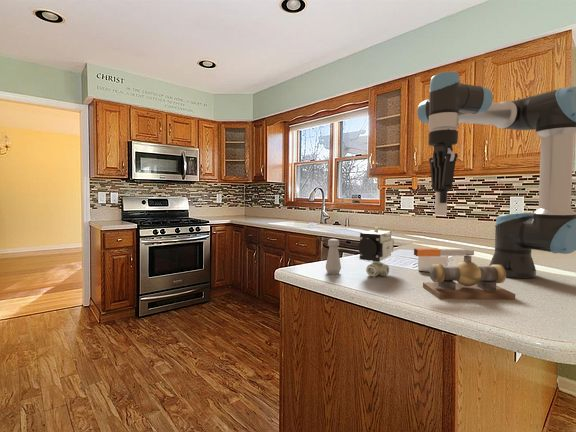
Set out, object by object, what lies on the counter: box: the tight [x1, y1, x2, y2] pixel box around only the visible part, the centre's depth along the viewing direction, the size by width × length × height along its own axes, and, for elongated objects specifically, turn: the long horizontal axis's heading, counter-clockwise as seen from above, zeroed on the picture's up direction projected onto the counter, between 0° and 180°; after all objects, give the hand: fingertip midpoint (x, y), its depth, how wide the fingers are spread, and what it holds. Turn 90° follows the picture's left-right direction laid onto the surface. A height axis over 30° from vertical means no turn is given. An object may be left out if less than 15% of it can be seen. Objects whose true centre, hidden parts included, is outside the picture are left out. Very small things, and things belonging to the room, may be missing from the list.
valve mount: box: [422, 255, 516, 300], centre depth 104 cm, size 22×12×11 cm, turn 89°
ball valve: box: [357, 227, 394, 278], centre depth 127 cm, size 18×8×18 cm, turn 147°
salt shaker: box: [325, 238, 342, 276], centre depth 129 cm, size 6×6×13 cm
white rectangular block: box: [417, 256, 449, 273], centre depth 134 cm, size 12×10×8 cm
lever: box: [413, 247, 475, 257], centre depth 104 cm, size 18×3×2 cm, turn 91°
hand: (440, 214), depth 98 cm, fingers closed
